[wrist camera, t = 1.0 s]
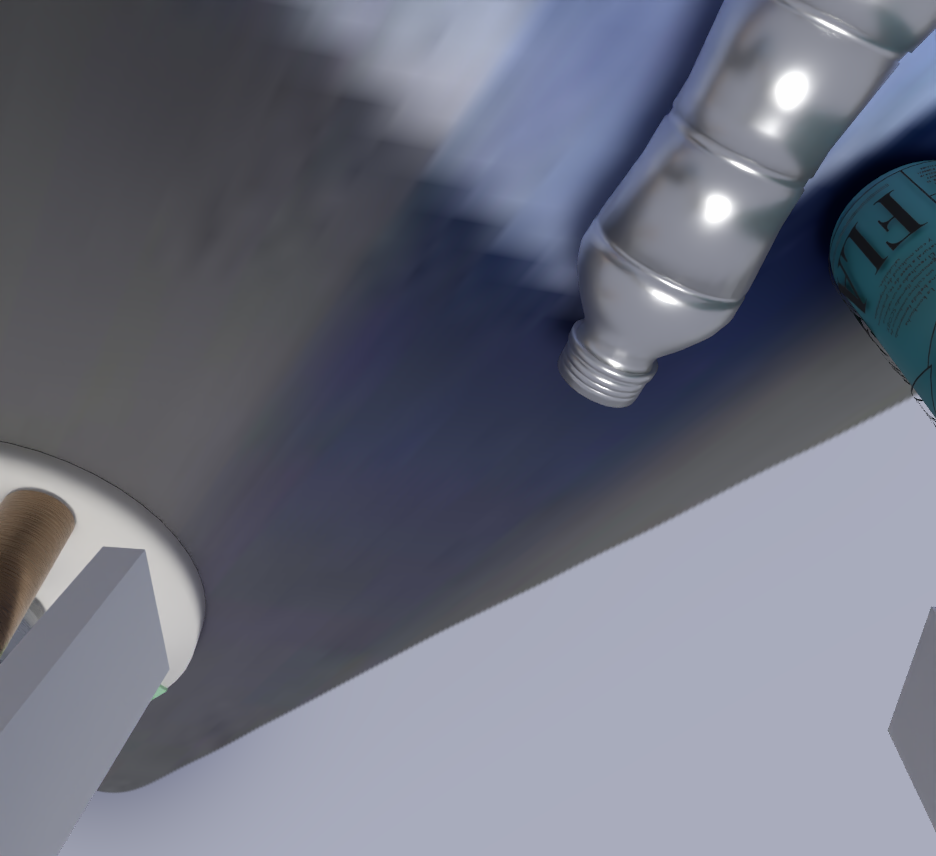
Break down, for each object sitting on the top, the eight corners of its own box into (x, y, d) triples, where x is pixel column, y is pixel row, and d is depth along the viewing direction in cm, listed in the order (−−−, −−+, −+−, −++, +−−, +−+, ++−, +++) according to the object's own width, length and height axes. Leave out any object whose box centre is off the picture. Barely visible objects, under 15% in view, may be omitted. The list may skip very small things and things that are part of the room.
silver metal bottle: (971, -120, 25) (654, 362, 37) (792, -221, 24) (521, 314, 36) (1090, -100, 20) (680, 452, 32) (873, -226, 19) (526, 400, 31)
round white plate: (-204, 612, 50) (-229, 641, 48) (-164, 365, 38) (-196, 392, 36) (140, 722, 56) (129, 751, 55) (263, 543, 45) (254, 572, 43)
